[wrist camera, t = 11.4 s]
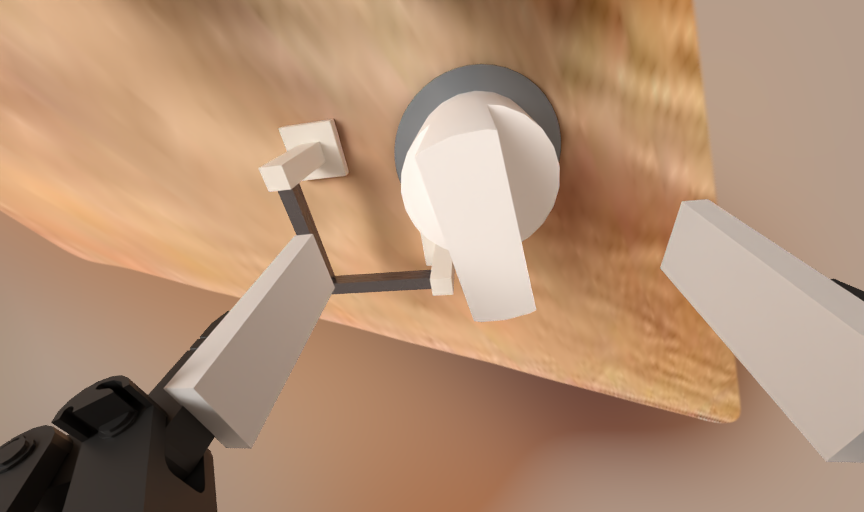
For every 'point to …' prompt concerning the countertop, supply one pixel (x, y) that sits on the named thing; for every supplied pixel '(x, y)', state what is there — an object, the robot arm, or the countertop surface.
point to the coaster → (475, 80)
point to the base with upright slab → (482, 195)
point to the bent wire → (348, 283)
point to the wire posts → (323, 158)
